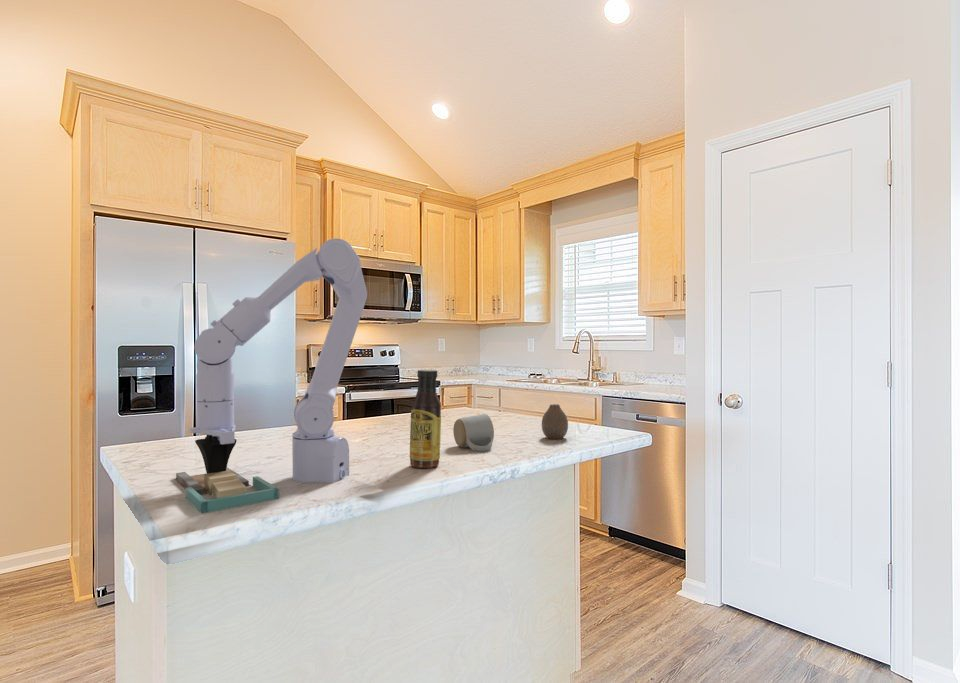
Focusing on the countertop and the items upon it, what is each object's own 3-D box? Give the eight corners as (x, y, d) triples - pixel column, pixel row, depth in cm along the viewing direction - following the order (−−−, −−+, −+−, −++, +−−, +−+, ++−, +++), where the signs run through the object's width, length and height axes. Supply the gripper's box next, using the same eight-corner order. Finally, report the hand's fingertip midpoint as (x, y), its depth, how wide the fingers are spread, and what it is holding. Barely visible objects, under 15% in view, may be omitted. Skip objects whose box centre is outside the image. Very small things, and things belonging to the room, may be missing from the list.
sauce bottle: (403, 467, 110) (403, 370, 110) (420, 461, 116) (420, 368, 116) (430, 471, 107) (430, 371, 107) (447, 464, 113) (446, 369, 113)
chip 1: (236, 490, 89) (236, 475, 89) (210, 494, 86) (210, 478, 86) (229, 485, 92) (229, 470, 92) (204, 489, 90) (204, 474, 90)
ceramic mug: (451, 445, 133) (451, 414, 133) (481, 442, 137) (481, 411, 137) (469, 454, 124) (469, 420, 123) (501, 450, 127) (501, 418, 127)
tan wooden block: (245, 502, 86) (246, 486, 86) (218, 507, 84) (218, 491, 83) (237, 493, 89) (238, 478, 89) (211, 497, 87) (212, 482, 86)
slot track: (251, 494, 92) (251, 480, 92) (192, 505, 86) (192, 490, 86) (227, 478, 102) (227, 465, 102) (173, 486, 97) (173, 473, 97)
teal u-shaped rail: (278, 507, 84) (278, 488, 84) (201, 523, 77) (201, 502, 77) (257, 493, 92) (257, 476, 92) (185, 506, 85) (185, 487, 85)
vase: (537, 436, 145) (537, 403, 144) (560, 435, 147) (560, 402, 147) (548, 441, 138) (548, 406, 138) (572, 439, 140) (572, 405, 140)
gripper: (179, 398, 95) (180, 475, 95) (200, 406, 83) (200, 494, 84) (223, 395, 99) (223, 469, 99) (247, 402, 88) (248, 485, 88)
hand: (216, 480), depth 92 cm, fingers closed
